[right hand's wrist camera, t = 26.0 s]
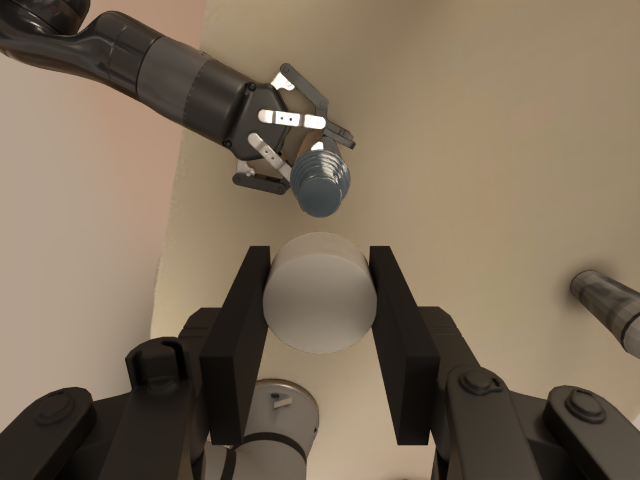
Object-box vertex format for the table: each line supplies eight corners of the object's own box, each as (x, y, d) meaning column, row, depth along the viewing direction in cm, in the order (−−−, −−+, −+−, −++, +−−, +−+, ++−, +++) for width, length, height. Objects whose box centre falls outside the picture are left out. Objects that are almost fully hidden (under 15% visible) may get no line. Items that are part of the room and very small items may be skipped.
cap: (249, 277, 15) (238, 306, 13) (320, 210, 14) (320, 229, 12) (319, 336, 16) (319, 372, 14) (390, 278, 15) (401, 307, 13)
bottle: (325, 120, 45) (329, 145, 23) (346, 153, 47) (370, 206, 25) (293, 143, 46) (268, 188, 24) (315, 175, 48) (311, 245, 26)
